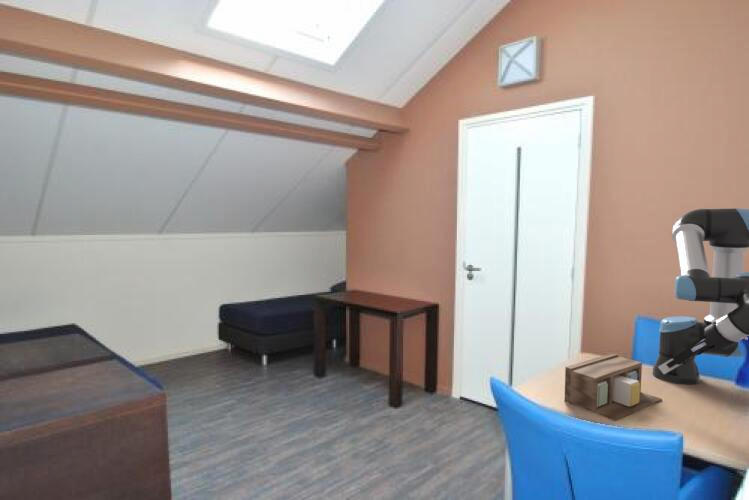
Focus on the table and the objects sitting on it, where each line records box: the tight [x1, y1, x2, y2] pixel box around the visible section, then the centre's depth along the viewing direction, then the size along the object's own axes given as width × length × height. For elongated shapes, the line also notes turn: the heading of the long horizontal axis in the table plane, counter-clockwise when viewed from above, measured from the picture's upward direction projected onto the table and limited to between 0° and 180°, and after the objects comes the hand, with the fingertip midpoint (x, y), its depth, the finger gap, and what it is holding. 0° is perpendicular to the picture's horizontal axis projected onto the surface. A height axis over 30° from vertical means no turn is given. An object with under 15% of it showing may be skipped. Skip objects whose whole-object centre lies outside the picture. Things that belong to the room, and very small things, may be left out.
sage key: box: [597, 380, 608, 407], centre depth 150 cm, size 8×5×8 cm, turn 32°
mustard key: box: [612, 375, 640, 407], centre depth 150 cm, size 8×5×8 cm, turn 32°
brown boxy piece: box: [564, 352, 663, 422], centre depth 153 cm, size 18×28×12 cm, turn 122°
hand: (661, 370), depth 148 cm, fingers closed
